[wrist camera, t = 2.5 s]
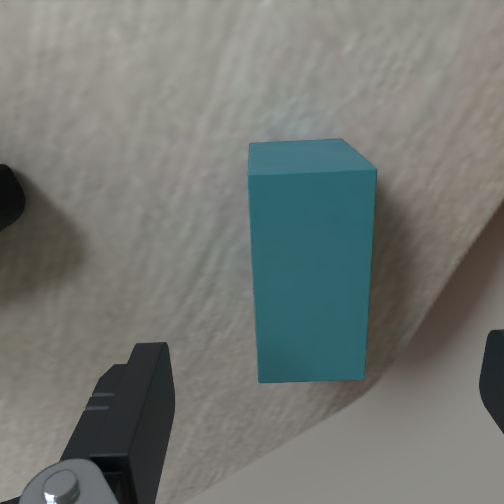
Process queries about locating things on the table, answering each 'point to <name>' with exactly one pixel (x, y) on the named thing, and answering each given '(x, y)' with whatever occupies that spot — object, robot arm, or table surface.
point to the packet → (311, 258)
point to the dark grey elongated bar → (10, 197)
